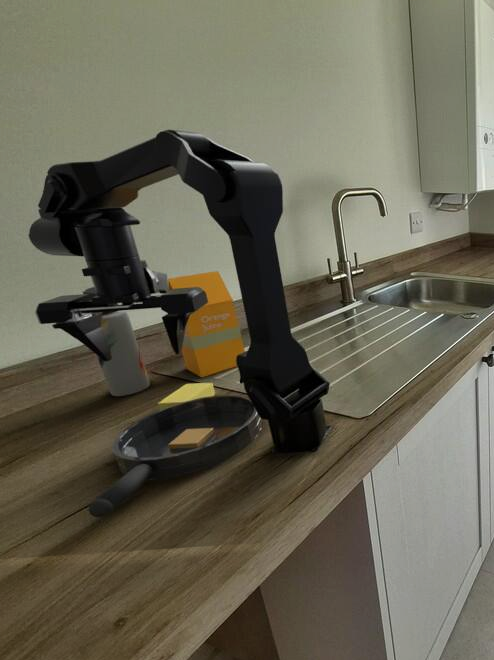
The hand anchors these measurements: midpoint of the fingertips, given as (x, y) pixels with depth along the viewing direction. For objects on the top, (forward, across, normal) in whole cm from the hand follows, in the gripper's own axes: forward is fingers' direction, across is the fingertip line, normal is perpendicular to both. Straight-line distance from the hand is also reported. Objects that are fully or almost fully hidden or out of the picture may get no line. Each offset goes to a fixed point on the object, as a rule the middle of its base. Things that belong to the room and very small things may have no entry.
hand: (144, 356), depth 64 cm
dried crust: (+11, -7, +9) cm, 16 cm away
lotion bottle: (+12, +12, -15) cm, 22 cm away
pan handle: (+10, -5, +21) cm, 24 cm away
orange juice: (+12, 0, -23) cm, 25 cm away
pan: (+12, -8, +9) cm, 16 cm away
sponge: (+12, -2, -4) cm, 12 cm away
